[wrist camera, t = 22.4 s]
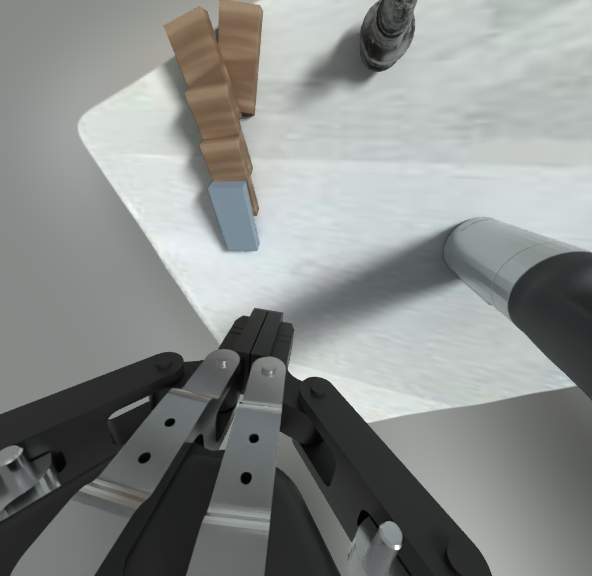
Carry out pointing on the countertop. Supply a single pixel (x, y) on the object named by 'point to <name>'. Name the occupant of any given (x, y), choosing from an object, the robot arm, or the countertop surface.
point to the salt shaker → (387, 33)
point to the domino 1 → (241, 49)
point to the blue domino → (234, 215)
